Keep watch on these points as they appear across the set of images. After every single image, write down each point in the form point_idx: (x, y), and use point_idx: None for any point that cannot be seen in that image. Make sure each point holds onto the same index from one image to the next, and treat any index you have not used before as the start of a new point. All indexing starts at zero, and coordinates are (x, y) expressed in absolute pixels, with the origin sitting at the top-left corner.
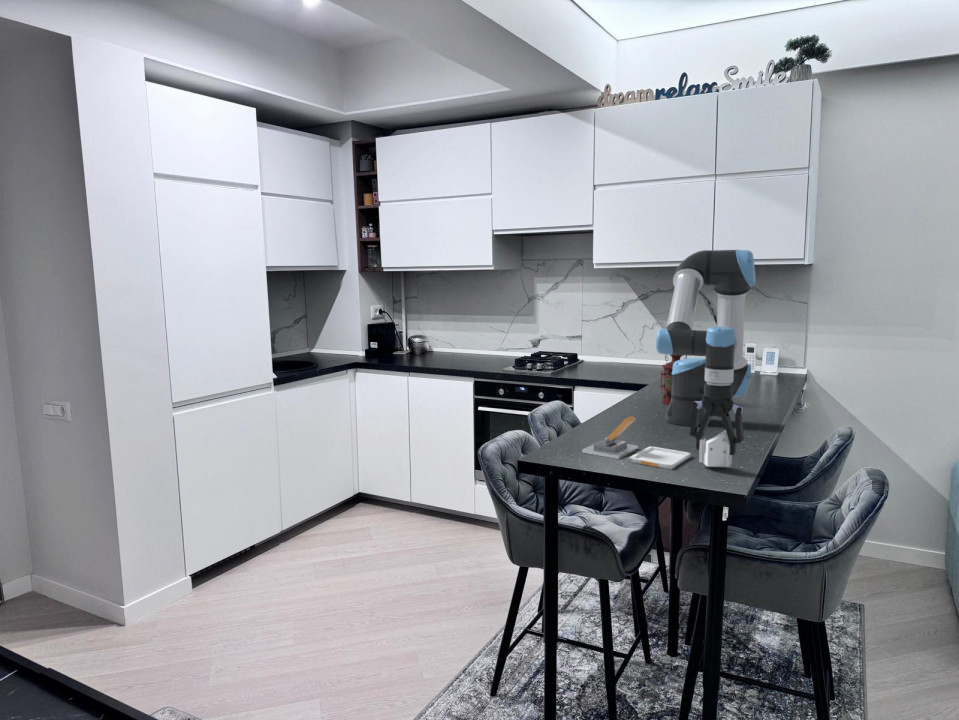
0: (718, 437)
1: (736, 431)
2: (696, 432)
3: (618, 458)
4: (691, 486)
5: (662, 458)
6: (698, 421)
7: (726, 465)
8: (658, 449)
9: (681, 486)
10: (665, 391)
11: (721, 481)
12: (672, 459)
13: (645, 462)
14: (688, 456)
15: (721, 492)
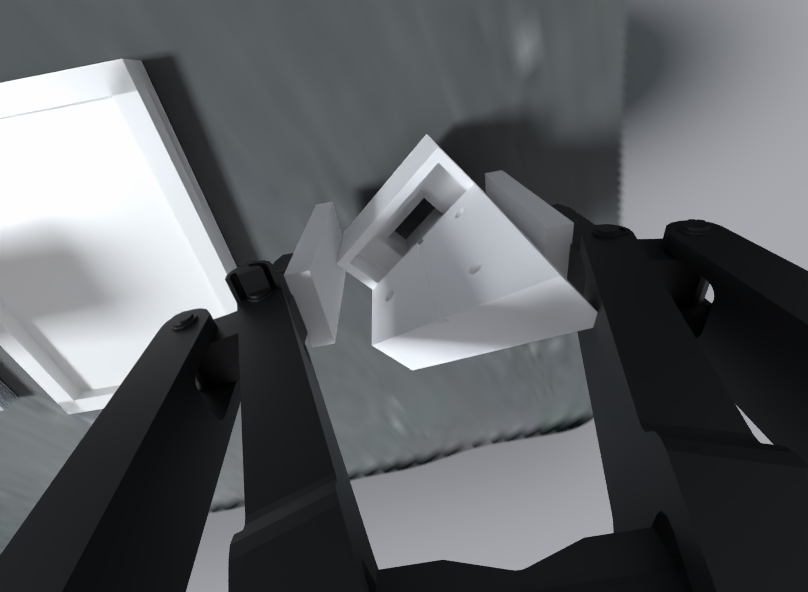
0: (482, 352)
1: (719, 377)
2: (235, 359)
3: (16, 398)
4: (450, 447)
5: (121, 280)
6: (155, 427)
7: None
8: None
9: (426, 463)
10: None
11: (513, 351)
12: (167, 258)
13: None
14: (163, 128)
15: (548, 432)
